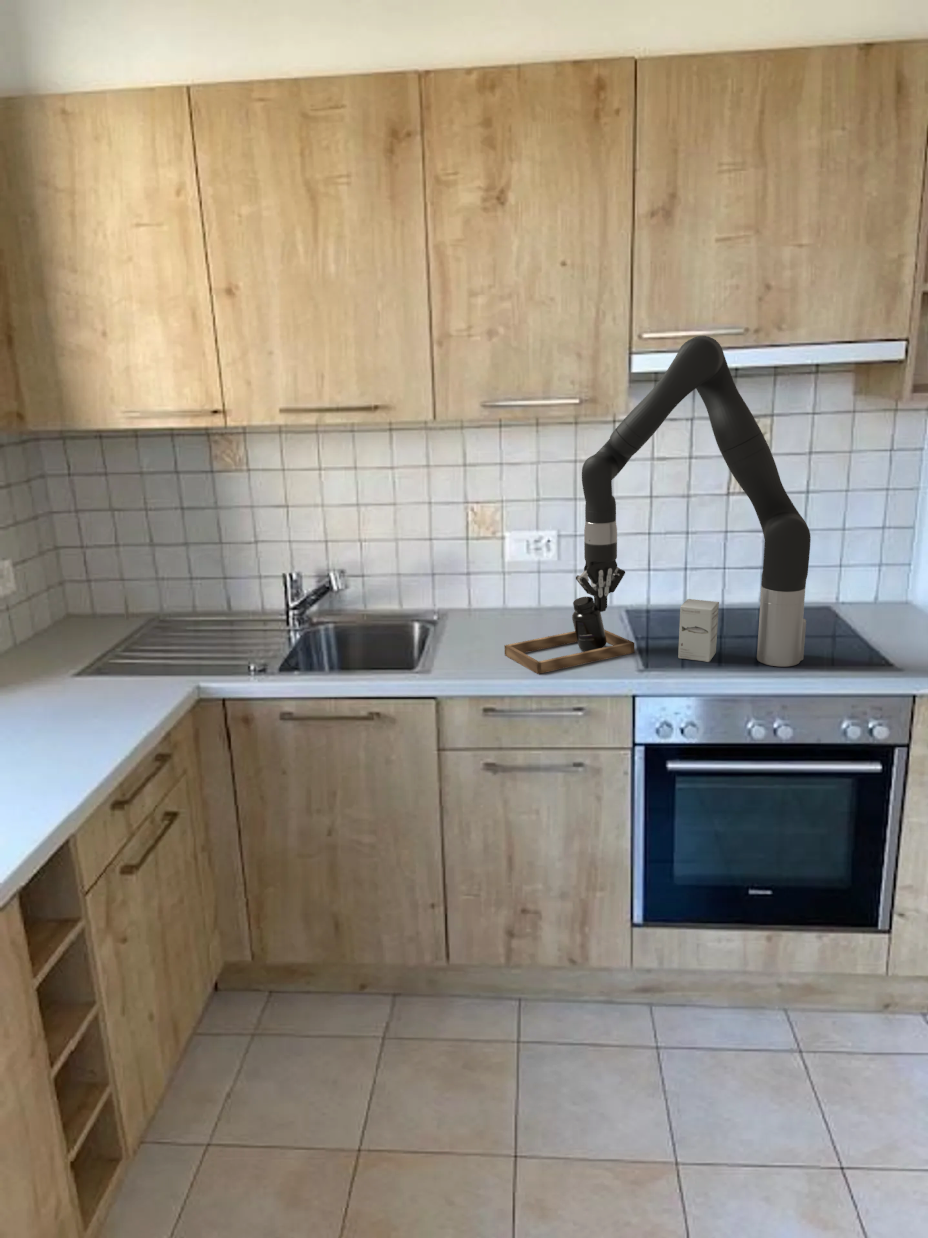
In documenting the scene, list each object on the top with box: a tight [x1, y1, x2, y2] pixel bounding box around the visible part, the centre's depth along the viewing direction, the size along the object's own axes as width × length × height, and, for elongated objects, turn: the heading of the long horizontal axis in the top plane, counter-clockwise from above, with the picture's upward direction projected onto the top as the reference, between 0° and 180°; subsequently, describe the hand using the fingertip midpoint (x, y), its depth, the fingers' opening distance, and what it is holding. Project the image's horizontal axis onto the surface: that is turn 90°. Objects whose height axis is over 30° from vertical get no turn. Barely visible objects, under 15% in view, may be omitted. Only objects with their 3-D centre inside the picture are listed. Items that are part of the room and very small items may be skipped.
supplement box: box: [677, 598, 720, 663], centre depth 206 cm, size 7×7×13 cm
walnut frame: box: [504, 629, 635, 675], centre depth 212 cm, size 26×15×2 cm, turn 117°
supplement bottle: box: [571, 596, 608, 652], centre depth 213 cm, size 7×7×12 cm
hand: (600, 610), depth 214 cm, fingers closed
